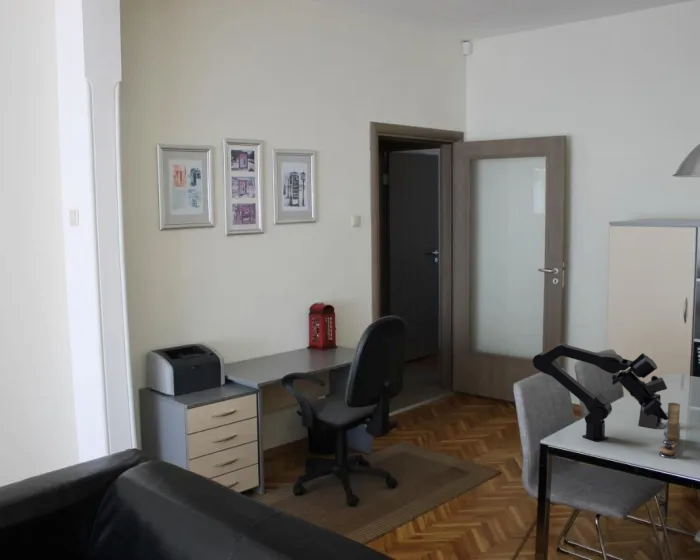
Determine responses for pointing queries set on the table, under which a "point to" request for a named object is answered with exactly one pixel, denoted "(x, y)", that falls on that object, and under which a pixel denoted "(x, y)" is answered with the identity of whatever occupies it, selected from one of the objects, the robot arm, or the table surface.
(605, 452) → the table surface
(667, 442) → the pin stand
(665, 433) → the bracket
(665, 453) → the swing link
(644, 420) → the phone stand
